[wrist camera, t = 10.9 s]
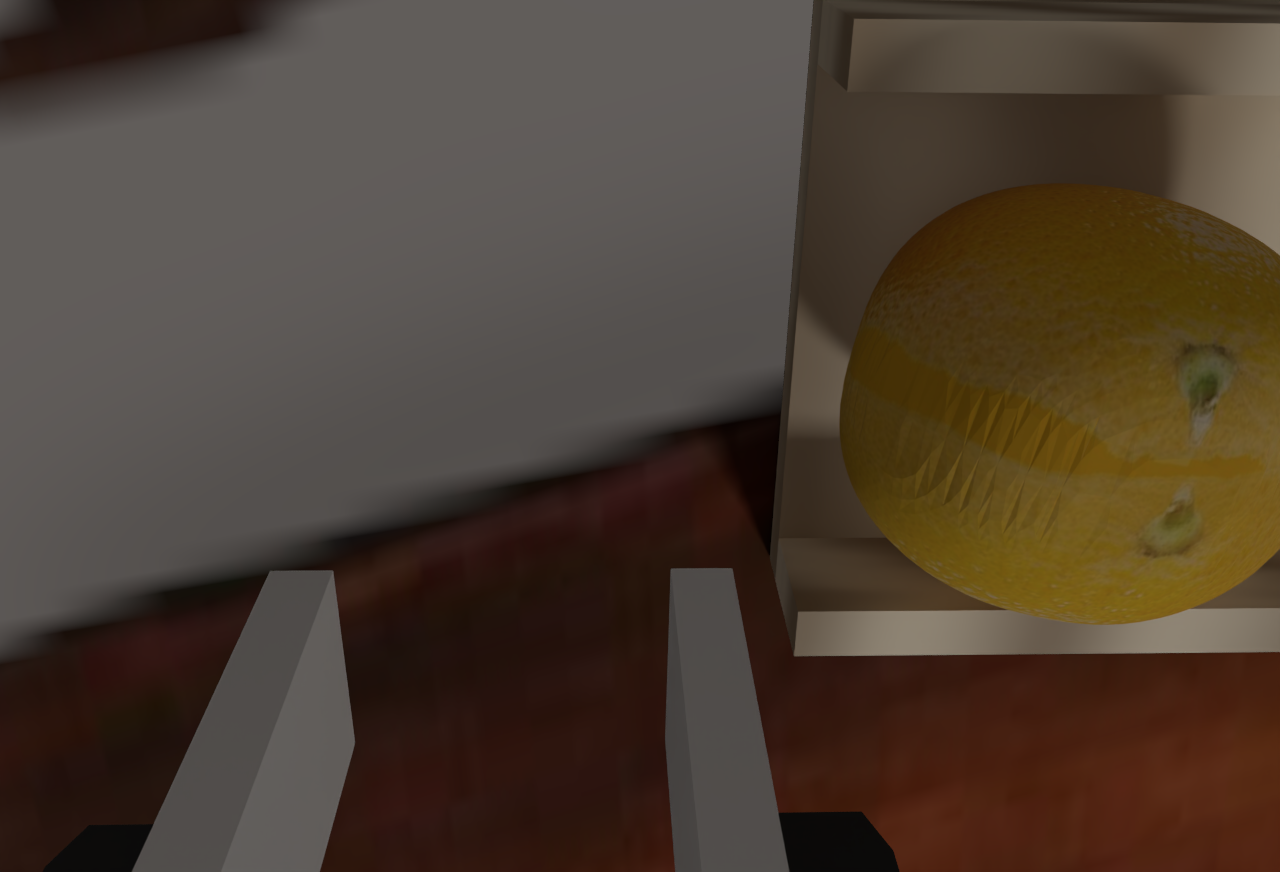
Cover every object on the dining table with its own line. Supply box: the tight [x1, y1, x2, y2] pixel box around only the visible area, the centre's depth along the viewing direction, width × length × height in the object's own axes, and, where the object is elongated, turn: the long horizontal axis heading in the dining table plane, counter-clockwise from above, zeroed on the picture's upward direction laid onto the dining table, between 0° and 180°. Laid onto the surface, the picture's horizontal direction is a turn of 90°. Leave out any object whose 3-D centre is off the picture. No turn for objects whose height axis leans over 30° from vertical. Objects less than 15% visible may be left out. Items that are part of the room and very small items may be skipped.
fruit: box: [839, 183, 1280, 625], centre depth 22 cm, size 9×8×8 cm
